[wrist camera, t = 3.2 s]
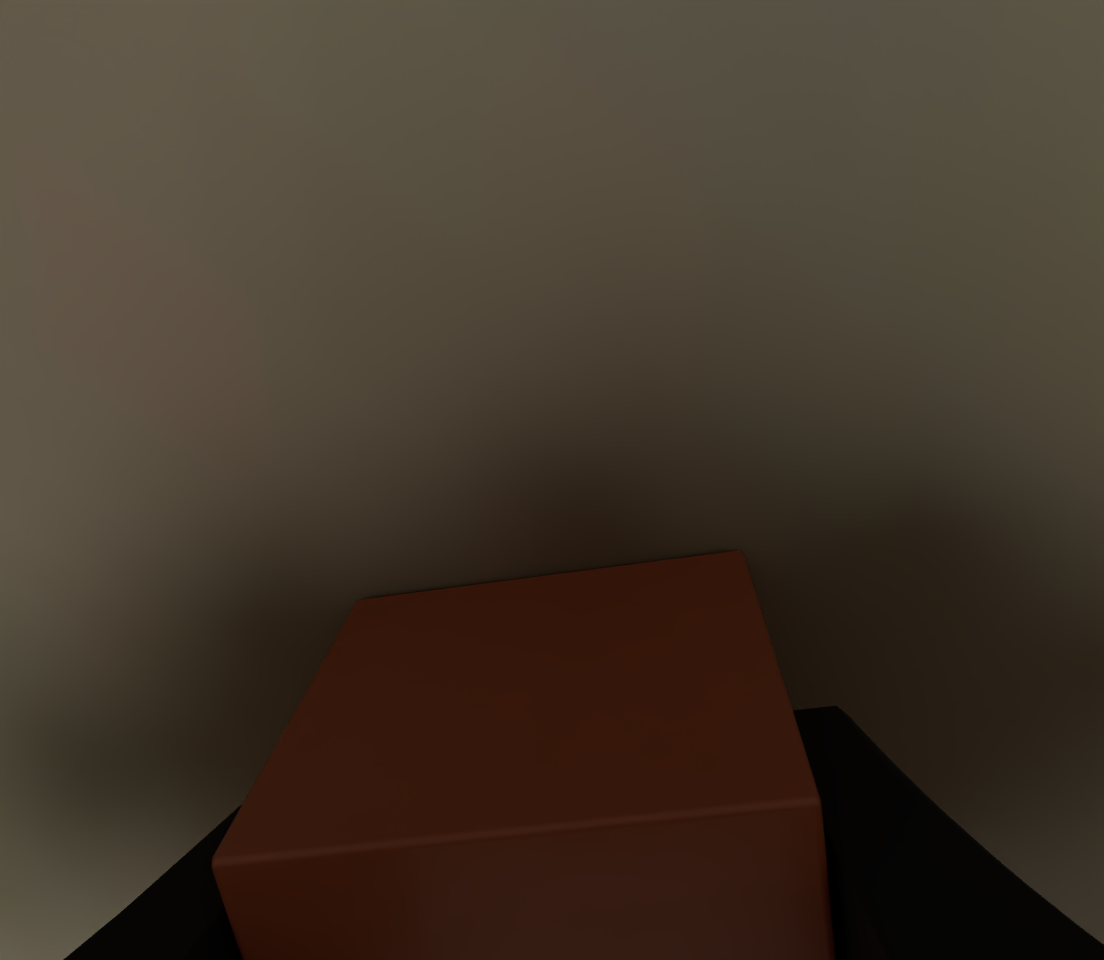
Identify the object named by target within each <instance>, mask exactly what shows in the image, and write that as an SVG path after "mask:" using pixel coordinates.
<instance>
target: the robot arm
mask: <svg viewBox="0 0 1104 960" xmlns="http://www.w3.org/2000/svg"><path fill="white" fill-rule="evenodd" d="M793 713H794V716H795V719H796V723H797V726H798V729H799V732H800V735H801V739H802V742H803V745H804V748H805V751H806V754H807V758H808V761H809V764H810V767H811V770H812V774H813V777H814V780H815V783H816V786H817V790H818V793H819V796H820V799H821V805H822V815H823V825H824V835H825V845H826V855H827V865H828V875H829V886H830V896H831V906H832V916H833V926H834V936H835V946H836V956H837V960H1104V945H1103V944H1102V943H1101V942H1099V941H1098V940H1097V939H1095V938H1094V937H1093V936H1091V935H1090V934H1089V933H1087V932H1086V931H1085V930H1084V929H1082V928H1081V927H1080V926H1078V925H1077V924H1076V923H1074V922H1073V921H1072V920H1071V919H1069V918H1068V917H1067V916H1066V915H1064V914H1063V913H1062V912H1061V911H1059V910H1058V909H1057V908H1056V907H1054V906H1053V905H1052V904H1051V903H1049V902H1048V901H1047V900H1046V899H1044V898H1043V897H1042V896H1041V895H1039V894H1038V893H1037V892H1036V891H1034V890H1033V889H1032V888H1031V887H1029V886H1028V885H1027V884H1026V883H1025V882H1023V881H1022V880H1021V879H1020V878H1019V877H1017V876H1016V875H1015V874H1014V873H1013V872H1012V871H1010V870H1009V869H1008V868H1007V867H1006V866H1004V865H1003V864H1002V863H1001V862H1000V861H999V860H997V859H996V858H995V857H994V856H993V855H991V854H990V853H989V852H988V851H987V850H986V849H985V848H984V847H983V846H981V845H980V844H979V843H978V842H977V841H976V840H975V839H974V838H973V837H971V836H970V835H969V834H968V833H967V832H966V831H965V830H964V829H963V828H961V827H960V826H959V825H958V824H957V823H956V822H955V821H954V820H953V819H951V818H950V817H949V816H948V815H947V814H946V813H945V812H944V811H943V810H941V809H940V808H939V807H938V806H937V805H936V804H935V803H934V802H933V801H932V800H931V799H930V798H929V797H928V796H927V795H926V794H924V793H923V792H922V791H921V790H920V789H919V788H918V787H917V786H916V785H915V784H914V783H913V782H912V781H911V780H910V779H909V778H908V777H907V776H906V775H905V774H904V773H903V772H902V771H901V770H900V769H899V768H898V767H897V766H896V765H895V764H894V763H893V762H892V761H891V760H890V759H889V758H888V757H887V756H886V755H885V754H884V753H883V752H882V751H881V750H880V749H879V748H878V747H877V746H876V744H875V743H874V742H873V741H872V740H871V739H870V738H869V737H868V736H867V735H866V734H865V733H864V732H863V731H862V730H861V728H860V727H859V726H858V725H857V724H856V723H855V722H854V721H853V720H852V719H851V717H850V716H849V715H847V714H846V713H845V712H843V711H842V710H841V709H840V708H838V707H837V706H829V707H820V708H811V709H803V710H794V711H793ZM241 806H242V805H241ZM241 806H239V807H238V808H237V809H236V810H235V811H234V812H233V813H232V814H230V815H229V816H228V817H227V818H226V819H225V820H224V821H223V822H221V823H220V824H219V825H218V826H217V827H216V828H215V829H214V830H213V831H211V832H210V833H209V834H208V835H207V836H206V837H205V838H204V839H203V840H201V841H200V842H199V843H198V844H197V845H196V846H195V847H194V848H193V849H191V850H190V851H189V852H188V853H187V854H186V855H185V856H184V857H182V858H181V859H180V860H179V861H178V862H177V863H176V864H175V865H173V866H172V867H171V868H170V869H169V870H168V871H167V872H166V873H164V874H163V875H162V876H161V877H160V878H159V879H158V880H157V881H155V882H154V883H153V884H152V885H151V886H150V887H149V888H147V889H146V890H145V891H144V892H143V893H142V894H141V895H140V896H138V897H137V898H136V899H135V900H134V901H133V902H132V903H131V904H129V905H128V906H127V907H126V908H125V909H124V910H123V911H121V912H120V913H119V914H118V915H117V916H116V917H114V918H113V919H112V920H111V921H110V922H108V923H107V924H106V925H105V926H104V927H102V928H101V929H100V930H99V931H98V932H96V933H95V934H94V935H93V936H92V937H90V938H89V939H88V940H87V941H85V942H84V943H83V944H82V945H81V946H79V947H78V948H77V949H76V950H75V951H73V952H72V953H71V954H70V955H69V956H67V957H66V958H65V959H64V960H242V957H241V954H240V951H239V948H238V945H237V942H236V939H235V936H234V933H233V930H232V927H231V924H230V921H229V918H228V915H227V912H226V909H225V906H224V903H223V900H222V897H221V894H220V891H219V888H218V885H217V882H216V879H215V876H214V873H213V870H212V858H213V856H214V854H215V852H216V851H217V849H218V847H219V845H220V843H221V842H222V840H223V838H224V836H225V835H226V833H227V831H228V829H229V827H230V826H231V824H232V822H233V820H234V818H235V817H236V815H237V813H238V811H239V810H240V808H241Z"/></svg>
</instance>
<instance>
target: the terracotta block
mask: <svg viewBox="0 0 1104 960" xmlns="http://www.w3.org/2000/svg"><path fill="white" fill-rule="evenodd" d="M212 870H213V873H214V876H215V879H216V882H217V885H218V888H219V891H220V894H221V897H222V900H223V903H224V906H225V909H226V912H227V915H228V918H229V921H230V924H231V927H232V930H233V933H234V936H235V939H236V942H237V945H238V948H239V951H240V954H241V957H242V960H837V956H836V946H835V936H834V926H833V916H832V906H831V896H830V886H829V875H828V865H827V855H826V845H825V835H824V825H823V815H822V805H821V799H820V796H819V793H818V790H817V786H816V783H815V780H814V777H813V774H812V770H811V767H810V764H809V761H808V758H807V754H806V751H805V748H804V745H803V742H802V739H801V735H800V732H799V729H798V726H797V723H796V719H795V716H794V713H793V710H792V707H791V703H790V700H789V697H788V694H787V691H786V687H785V684H784V681H783V678H782V675H781V671H780V668H779V665H778V662H777V659H776V656H775V652H774V649H773V646H772V643H771V640H770V636H769V633H768V630H767V627H766V624H765V620H764V617H763V614H762V611H761V608H760V604H759V601H758V598H757V595H756V592H755V588H754V585H753V582H752V579H751V576H750V573H749V569H748V566H747V563H746V560H745V557H744V555H743V553H742V552H741V551H730V552H722V553H715V554H707V555H700V556H692V557H684V558H676V559H669V560H661V561H653V562H646V563H638V564H630V565H623V566H615V567H607V568H600V569H592V570H584V571H577V572H569V573H561V574H554V575H546V576H538V577H531V578H523V579H515V580H508V581H500V582H492V583H485V584H477V585H469V586H462V587H454V588H446V589H439V590H431V591H423V592H416V593H408V594H400V595H393V596H385V597H377V598H370V599H362V600H359V601H357V602H356V603H355V605H354V606H353V608H352V610H351V612H350V614H349V615H348V617H347V619H346V621H345V623H344V624H343V626H342V628H341V630H340V631H339V633H338V635H337V637H336V639H335V640H334V642H333V644H332V646H331V647H330V649H329V651H328V653H327V655H326V656H325V658H324V660H323V662H322V663H321V665H320V667H319V669H318V671H317V672H316V674H315V676H314V678H313V680H312V681H311V683H310V685H309V687H308V688H307V690H306V692H305V694H304V696H303V697H302V699H301V701H300V703H299V704H298V706H297V708H296V710H295V712H294V713H293V715H292V717H291V719H290V721H289V722H288V724H287V726H286V728H285V729H284V731H283V733H282V735H281V737H280V738H279V740H278V742H277V744H276V745H275V747H274V749H273V751H272V753H271V754H270V756H269V758H268V760H267V761H266V763H265V765H264V767H263V769H262V770H261V772H260V774H259V776H258V778H257V779H256V781H255V783H254V785H253V786H252V788H251V790H250V792H249V794H248V795H247V797H246V799H245V801H244V802H243V804H242V806H241V808H240V810H239V811H238V813H237V815H236V817H235V818H234V820H233V822H232V824H231V826H230V827H229V829H228V831H227V833H226V835H225V836H224V838H223V840H222V842H221V843H220V845H219V847H218V849H217V851H216V852H215V854H214V856H213V858H212Z"/></svg>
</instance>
